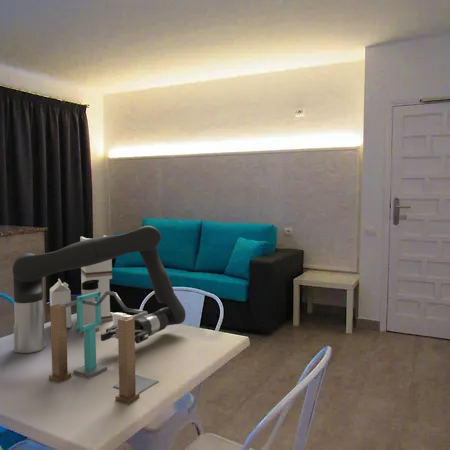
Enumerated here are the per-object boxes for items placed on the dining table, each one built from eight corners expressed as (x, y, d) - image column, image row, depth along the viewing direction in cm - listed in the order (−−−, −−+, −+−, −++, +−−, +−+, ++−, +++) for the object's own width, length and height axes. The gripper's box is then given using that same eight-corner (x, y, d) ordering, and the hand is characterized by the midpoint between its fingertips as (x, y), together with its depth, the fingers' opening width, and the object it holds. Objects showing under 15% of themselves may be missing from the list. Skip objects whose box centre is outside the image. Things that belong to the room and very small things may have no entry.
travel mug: (97, 332, 173) (96, 281, 171) (80, 332, 173) (79, 281, 171) (102, 327, 179) (101, 278, 177) (85, 327, 179) (84, 278, 177)
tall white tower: (112, 320, 189) (111, 238, 186) (86, 323, 184) (84, 239, 181) (106, 313, 199) (105, 235, 196) (82, 316, 194) (80, 236, 192)
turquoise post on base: (88, 379, 131) (86, 298, 129) (71, 374, 134) (69, 295, 132) (109, 369, 138) (107, 292, 136) (92, 364, 141) (90, 290, 139)
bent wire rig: (48, 379, 130) (46, 292, 128) (77, 366, 139) (75, 285, 137) (128, 404, 115) (126, 306, 113) (154, 388, 124) (153, 297, 122)
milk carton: (52, 330, 176) (51, 282, 174) (50, 325, 182) (49, 279, 180) (71, 327, 179) (70, 280, 177) (68, 322, 185) (67, 277, 184)
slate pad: (113, 386, 125) (113, 385, 125) (134, 375, 133) (134, 374, 133) (137, 394, 121) (137, 393, 121) (158, 381, 129) (158, 380, 129)
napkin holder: (144, 330, 176) (144, 316, 176) (116, 335, 171) (115, 320, 171) (134, 320, 190) (134, 307, 189) (107, 324, 185) (107, 310, 184)
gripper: (128, 313, 160) (94, 325, 146) (160, 319, 153) (128, 332, 139) (128, 334, 161) (95, 347, 147) (160, 340, 154) (128, 355, 140)
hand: (111, 340), depth 143 cm, fingers open, 8 cm apart
